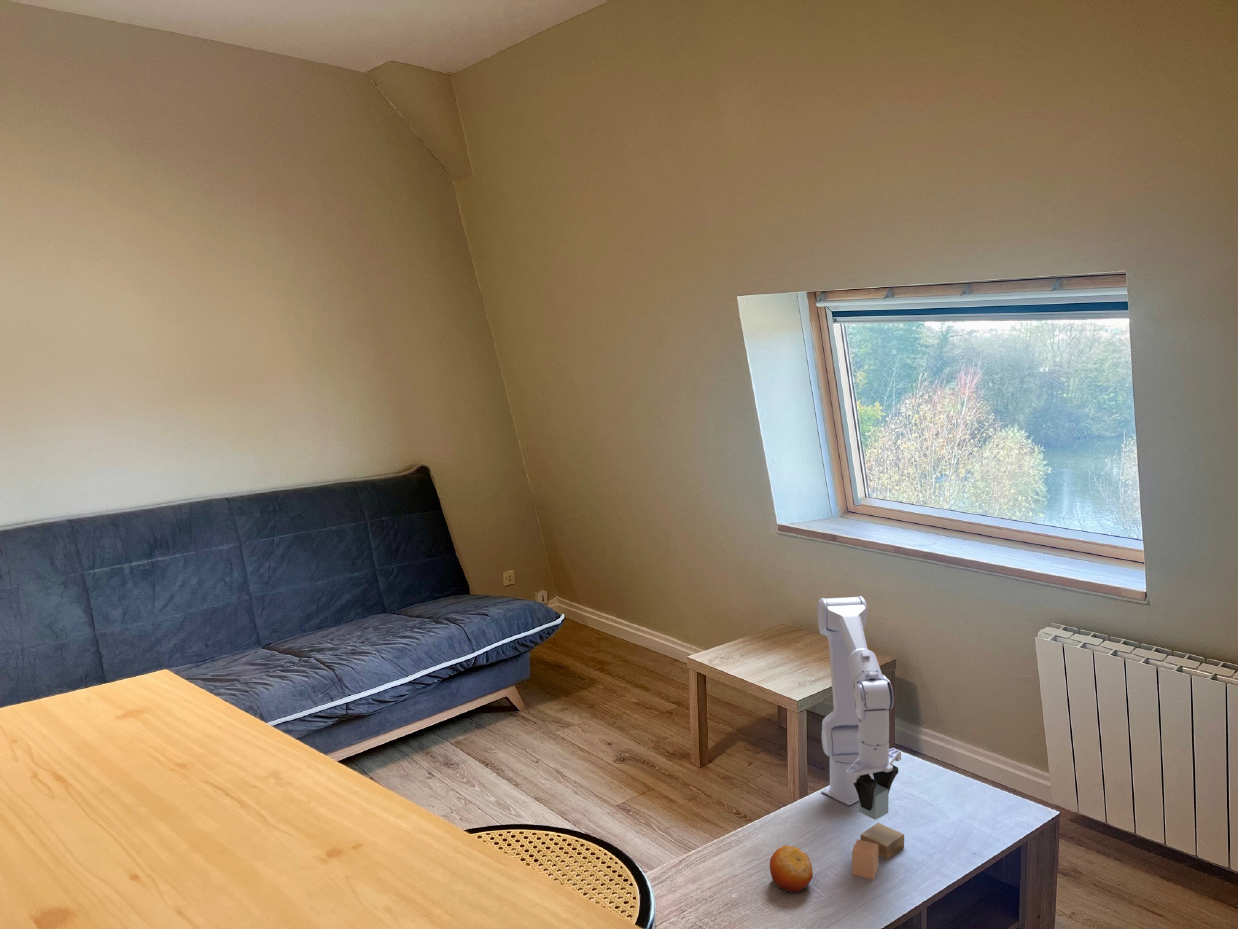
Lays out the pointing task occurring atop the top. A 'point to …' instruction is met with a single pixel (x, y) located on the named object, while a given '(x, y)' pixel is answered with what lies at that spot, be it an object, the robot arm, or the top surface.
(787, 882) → the fruit
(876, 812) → the grayish teal block
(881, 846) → the walnut block
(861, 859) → the terracotta block
